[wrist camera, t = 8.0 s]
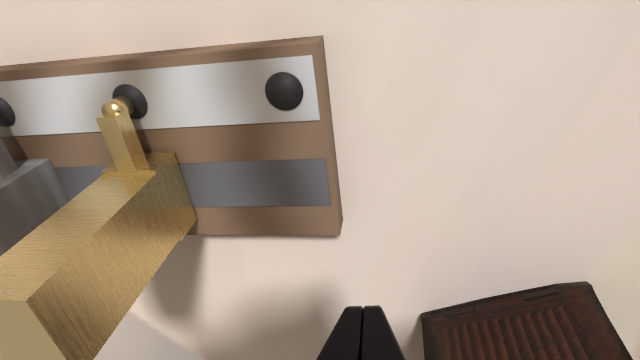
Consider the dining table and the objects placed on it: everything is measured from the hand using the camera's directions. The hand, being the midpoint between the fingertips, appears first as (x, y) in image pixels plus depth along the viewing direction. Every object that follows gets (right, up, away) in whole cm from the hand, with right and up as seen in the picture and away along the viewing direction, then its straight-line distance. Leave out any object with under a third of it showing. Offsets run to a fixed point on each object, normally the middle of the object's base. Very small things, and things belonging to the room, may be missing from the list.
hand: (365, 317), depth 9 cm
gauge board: (-10, +5, +13) cm, 17 cm away
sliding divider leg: (-10, +4, +12) cm, 16 cm away
